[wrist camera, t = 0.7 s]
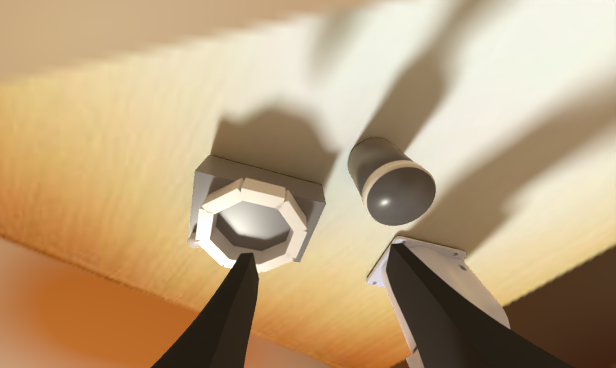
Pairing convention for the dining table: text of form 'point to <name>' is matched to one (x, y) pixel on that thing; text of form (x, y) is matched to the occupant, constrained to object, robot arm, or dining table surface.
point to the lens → (390, 182)
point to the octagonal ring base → (252, 213)
